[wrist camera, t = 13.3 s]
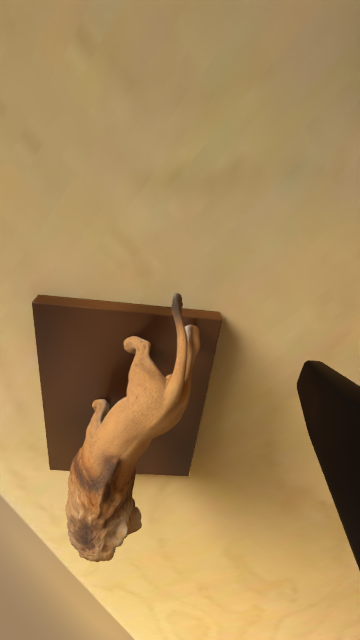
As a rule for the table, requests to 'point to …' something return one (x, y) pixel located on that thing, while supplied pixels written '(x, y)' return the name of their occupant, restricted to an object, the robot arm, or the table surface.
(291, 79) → the table surface
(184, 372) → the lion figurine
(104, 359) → the walnut board
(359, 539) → the robot arm
